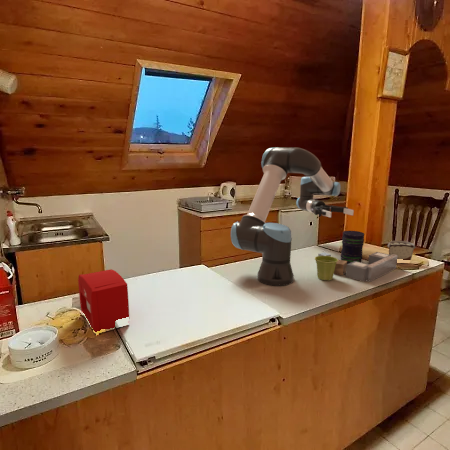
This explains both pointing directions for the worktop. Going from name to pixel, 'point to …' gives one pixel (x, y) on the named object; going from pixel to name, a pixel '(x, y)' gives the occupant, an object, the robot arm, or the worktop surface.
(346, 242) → the rusty oil drum
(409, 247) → the food container
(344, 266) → the walnut block
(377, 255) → the block
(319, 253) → the bluegrey block
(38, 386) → the worktop surface
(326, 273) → the plant pot
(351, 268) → the module block
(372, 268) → the rail
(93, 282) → the fire alarm
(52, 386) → the worktop surface
